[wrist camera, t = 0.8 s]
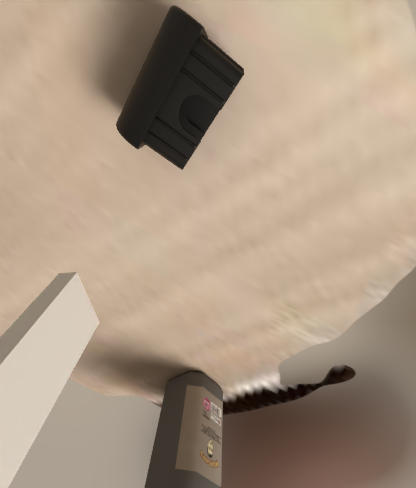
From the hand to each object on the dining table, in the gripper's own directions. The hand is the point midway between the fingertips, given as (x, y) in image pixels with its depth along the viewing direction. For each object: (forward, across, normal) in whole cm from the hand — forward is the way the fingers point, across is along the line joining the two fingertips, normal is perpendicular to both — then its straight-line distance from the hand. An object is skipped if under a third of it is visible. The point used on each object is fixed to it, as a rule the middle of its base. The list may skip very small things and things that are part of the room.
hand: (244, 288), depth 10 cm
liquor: (+22, -11, -40) cm, 47 cm away
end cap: (+22, -4, +7) cm, 23 cm away
